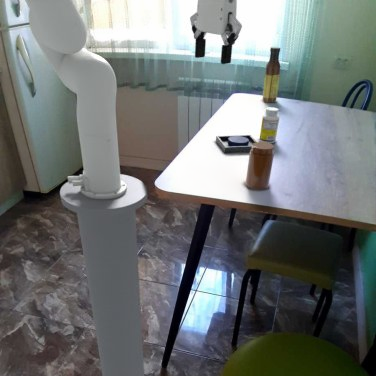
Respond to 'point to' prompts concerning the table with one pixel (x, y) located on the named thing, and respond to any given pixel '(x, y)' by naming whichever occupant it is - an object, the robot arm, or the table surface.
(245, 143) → the jar lid
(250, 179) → the jam jar
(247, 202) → the table surface
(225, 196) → the table surface
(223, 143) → the slate tray
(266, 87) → the sauce bottle
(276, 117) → the supplement bottle
